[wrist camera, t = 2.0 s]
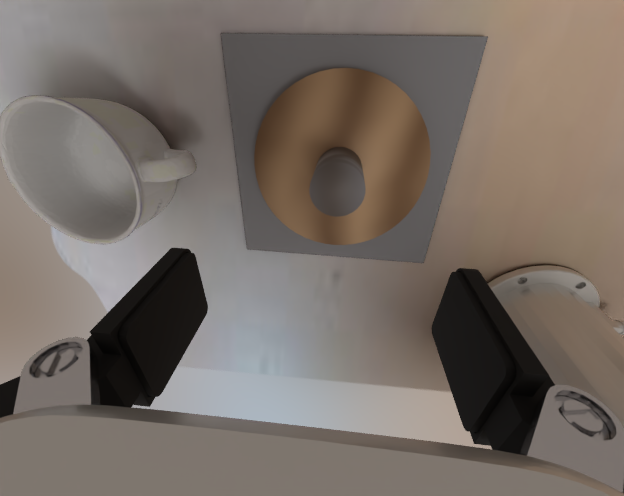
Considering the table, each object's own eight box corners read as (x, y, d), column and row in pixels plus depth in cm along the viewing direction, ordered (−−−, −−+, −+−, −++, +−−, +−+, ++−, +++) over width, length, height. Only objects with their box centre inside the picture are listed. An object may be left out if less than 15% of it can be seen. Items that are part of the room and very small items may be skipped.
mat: (484, 37, 20) (487, 36, 19) (422, 260, 30) (423, 263, 29) (223, 34, 21) (220, 33, 21) (248, 246, 31) (247, 249, 31)
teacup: (102, 200, 30) (31, 236, 23) (62, 84, 24) (-47, 88, 18) (227, 215, 29) (191, 257, 23) (217, 100, 24) (165, 110, 17)
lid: (449, 70, 20) (482, 68, 15) (407, 245, 28) (420, 282, 23) (249, 65, 22) (219, 63, 17) (263, 234, 30) (245, 267, 24)
